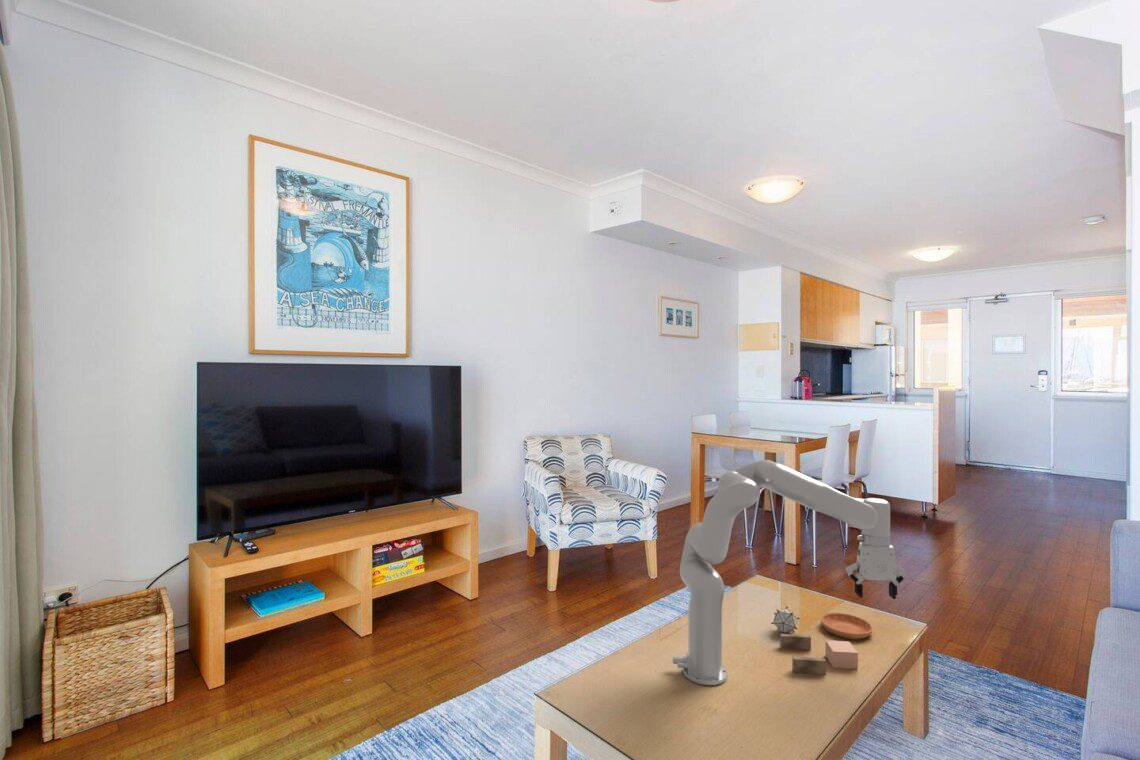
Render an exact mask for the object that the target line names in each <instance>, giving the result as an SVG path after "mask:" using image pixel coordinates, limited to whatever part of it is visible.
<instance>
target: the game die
mask: <svg viewBox="0 0 1140 760" xmlns="http://www.w3.org/2000/svg"><path fill="white" fill-rule="evenodd" d="M773 614H774V619H773V622H771V623H770V624H771V625H775V626H776V628H777V630H780V632H782V634H788V633H790V632H792V633H795V630H798V628H797V623H798V620H800V617H797V616H796V615H795V614H794V612H792V611H790V610H789V609H788V606H786V607H785V608H784V609H783V608H782V609H781V610H779V609H776V612H773Z"/></svg>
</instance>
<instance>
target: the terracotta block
mask: <svg viewBox="0 0 1140 760" xmlns="http://www.w3.org/2000/svg"><path fill="white" fill-rule="evenodd" d="M825 657H826V659H827V658H828V659H827V660H828V662H829V663H830V665H831V666H832V668H834V667H835V669H836V668H837V669H850V668H858V669H859V653H858V651H857V650H856V648H855V647H854V645H853V644H852V643H851V642H850V641H846V640H845V641H843V640H842V641H841V640H828V639H827V640H826V639H825Z"/></svg>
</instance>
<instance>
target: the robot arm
mask: <svg viewBox="0 0 1140 760" xmlns="http://www.w3.org/2000/svg"><path fill="white" fill-rule="evenodd" d="M717 488H718V492H717V493H715V495H713V497H712V498H711V499H710V500H709V501H708V503H707V505H706V507H705V511H704V515H703V518H702V521H701V522H698V523H695V524H693V526H691V527H690V529H689V530H688V532H687V533H686V536H685V541H684V545H683V548H682V549H683V551H682V556H681V560H680V565H679V575H680V578H681V580H682V582H683V583H684V585H685V586H686V587H687V589H688V590H689V594H690V596H689V597H690V598H689V602H688V603H689V604H688V612H687V613H688V614H687V615H688V616H687V618H688V619H687V620H688V652H687V653H686V656H685V655H684V656H683V657H681V656H680V657H679V656H672V664H673V665H676V666H677V668H679V669H681V668H682V672H683V675H684V677H685V678H687V679H688V680H689V681H691V682H693V683H695V684H698V685H703V686H718V685H721V684H722V683H724V682H725V681H727V679H728V671H727V669H726V668H725V666H723V664H722V663H723V662H722V661H723V659H722V658H723V649H722V648H723V647H722V645H723V638H722V637H723V632H722V631H723V630H722V629H723V625H722V624H723V623H722V622H723V620H722V619H723V615H722V614H723V601H724V597H725V584H724V581H723V578H722V577H721V575H720V574H719V572H718V571H717V570H716V569H715V568H714V567H713V566H712V565H718V564H721V563H723V561H724V560H725V559H726V556H727V554H728V550H729V545H730V540H731V536H732V535H731V534H732V531H733V530H732V529H733V526H734V522H735V519H736V517H737V516H738V515H739V514H740V513H741V512H743V510H745V509H747V508H749V507H751V506H753V505H754V504H756V502H757V501H759V498H760V495H761V494H760V493H761V490H760V489H761V488H764V489H766V490H768V491H770V492H772V493H774V494H776V495H779V496H781V497H783V498H786V499H788V500H791V501H792V502H794V503H796V504H799V505H802V506H803V507H806V508H809V509H810V510H812V511H814V512H819V513H821V514H824V515H827V516H830V517H832V518H834V519H836V520H838V521H842V522H843V523H845V524H848V525H850V526H853V527H854V528H857V529H859V530H861V532H860V535H857V536H856V539H857V540H858V541H860V542H859V543H858V544H859V545H858V549H857V555H856V562H854V563H852V564H850V565H849V566H846V567H845V568H844V569H845V572H846V573H847V575H848V577H849V578H851V579H852V581H853V582H854V592H855V594H856V595H857V596H858V597H859V599H861V598H863V594H864V592H863V589H864V587H863V584H862V583H863V581H864V580H871V581H874V580H875V581H890V582H888V596H889V597H890V598H891V599H892V600H896V599H897V596H898V586H899V585H900V583H901V582H903V581H904V578H905V577H906V575H907V574H908V571H907V570H905V568H902V567H901V566H899V565H897V559H896V552H895V548H894V546H893V545H892V544H891V504H890V502H889V501H887V500H886V499H884V498H878V497H877V498H876V497H868V498H857V497H856V498H855V497H852V496H850V495H849V494H846V493H844V492H841V491H840V490H837V489H835V488H833V487H831V486H829V485H828V484H825V483H823V482H822V481H819V480H817V479H815V478H812V477H810V476H808V475H806V474H803V473H801V472H799V471H797V470H795V469H793V468H790V467H789V466H786V465H783V464H781V463H778V462H775V461H772V460H770V459H763V460H758V461H754V462H752V463H749V464H745V465H744V466H741V467H737V468H735V469H731V470H729V471H726V472H725V473H723V474H722V475H721V476H720V477H719V480H718V482H717ZM855 570H856V574H854V571H855ZM898 572H899V573H898Z"/></svg>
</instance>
